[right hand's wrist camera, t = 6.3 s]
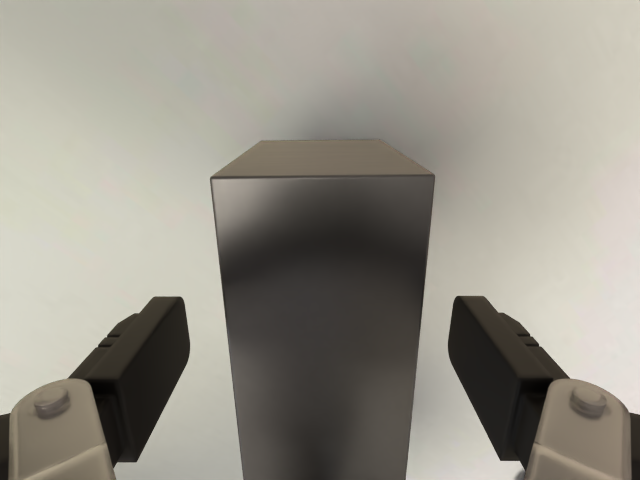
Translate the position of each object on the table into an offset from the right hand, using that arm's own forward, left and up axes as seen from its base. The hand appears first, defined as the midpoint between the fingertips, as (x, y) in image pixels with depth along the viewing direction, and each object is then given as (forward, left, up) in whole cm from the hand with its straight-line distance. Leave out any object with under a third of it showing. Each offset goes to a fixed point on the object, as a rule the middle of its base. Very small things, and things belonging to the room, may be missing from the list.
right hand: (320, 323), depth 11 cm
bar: (+7, +4, -9) cm, 13 cm away
